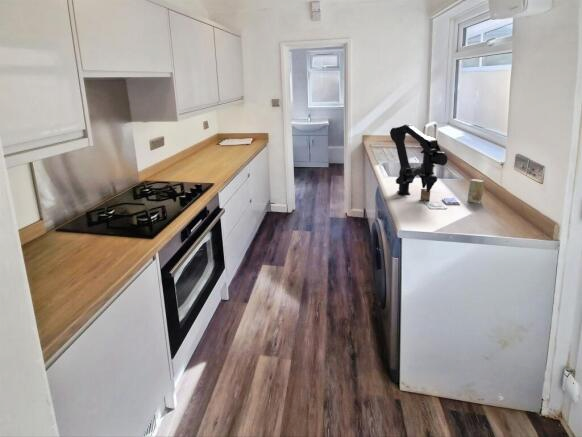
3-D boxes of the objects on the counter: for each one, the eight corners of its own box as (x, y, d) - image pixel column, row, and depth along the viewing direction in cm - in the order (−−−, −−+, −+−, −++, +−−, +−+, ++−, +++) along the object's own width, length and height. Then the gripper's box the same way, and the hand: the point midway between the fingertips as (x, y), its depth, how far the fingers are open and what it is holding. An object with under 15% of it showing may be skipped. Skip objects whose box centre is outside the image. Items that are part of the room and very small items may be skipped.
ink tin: (441, 199, 233) (442, 197, 232) (454, 199, 232) (454, 197, 232) (446, 204, 224) (446, 202, 224) (460, 204, 224) (460, 202, 223)
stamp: (420, 199, 235) (421, 189, 233) (427, 199, 234) (428, 189, 232) (422, 201, 231) (423, 190, 229) (429, 201, 231) (430, 190, 229)
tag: (423, 202, 229) (423, 201, 229) (440, 202, 228) (440, 201, 228) (429, 209, 218) (429, 208, 218) (447, 209, 217) (447, 208, 217)
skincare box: (466, 201, 229) (469, 179, 225) (469, 199, 232) (472, 178, 228) (478, 203, 225) (481, 181, 221) (481, 202, 228) (484, 180, 224)
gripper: (409, 159, 235) (407, 185, 240) (417, 166, 217) (414, 194, 222) (429, 158, 234) (426, 185, 239) (438, 166, 217) (435, 194, 222)
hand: (425, 190), depth 231 cm, fingers open, 9 cm apart
